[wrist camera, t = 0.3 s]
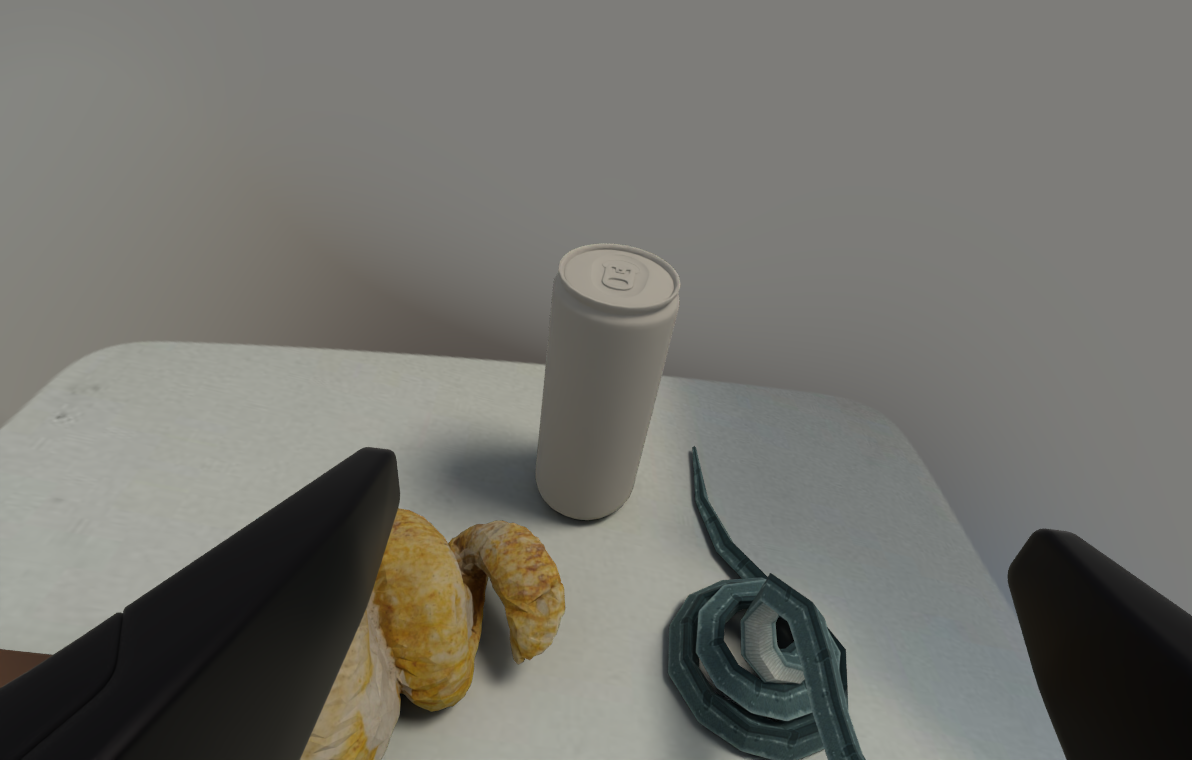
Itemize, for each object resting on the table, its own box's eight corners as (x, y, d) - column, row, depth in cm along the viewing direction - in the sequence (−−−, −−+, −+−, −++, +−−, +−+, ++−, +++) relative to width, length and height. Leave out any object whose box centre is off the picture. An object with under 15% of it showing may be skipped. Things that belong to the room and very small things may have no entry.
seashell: (107, 472, 21) (557, 446, 23) (180, 554, 25) (551, 525, 28) (-52, 836, 15) (591, 751, 17) (83, 859, 19) (576, 789, 21)
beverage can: (636, 461, 33) (686, 254, 25) (626, 536, 29) (682, 320, 21) (544, 442, 33) (567, 232, 25) (523, 515, 29) (541, 294, 21)
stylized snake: (732, 968, 18) (811, 917, 14) (615, 452, 33) (635, 353, 29) (955, 927, 19) (1088, 869, 15) (745, 449, 34) (782, 355, 30)
